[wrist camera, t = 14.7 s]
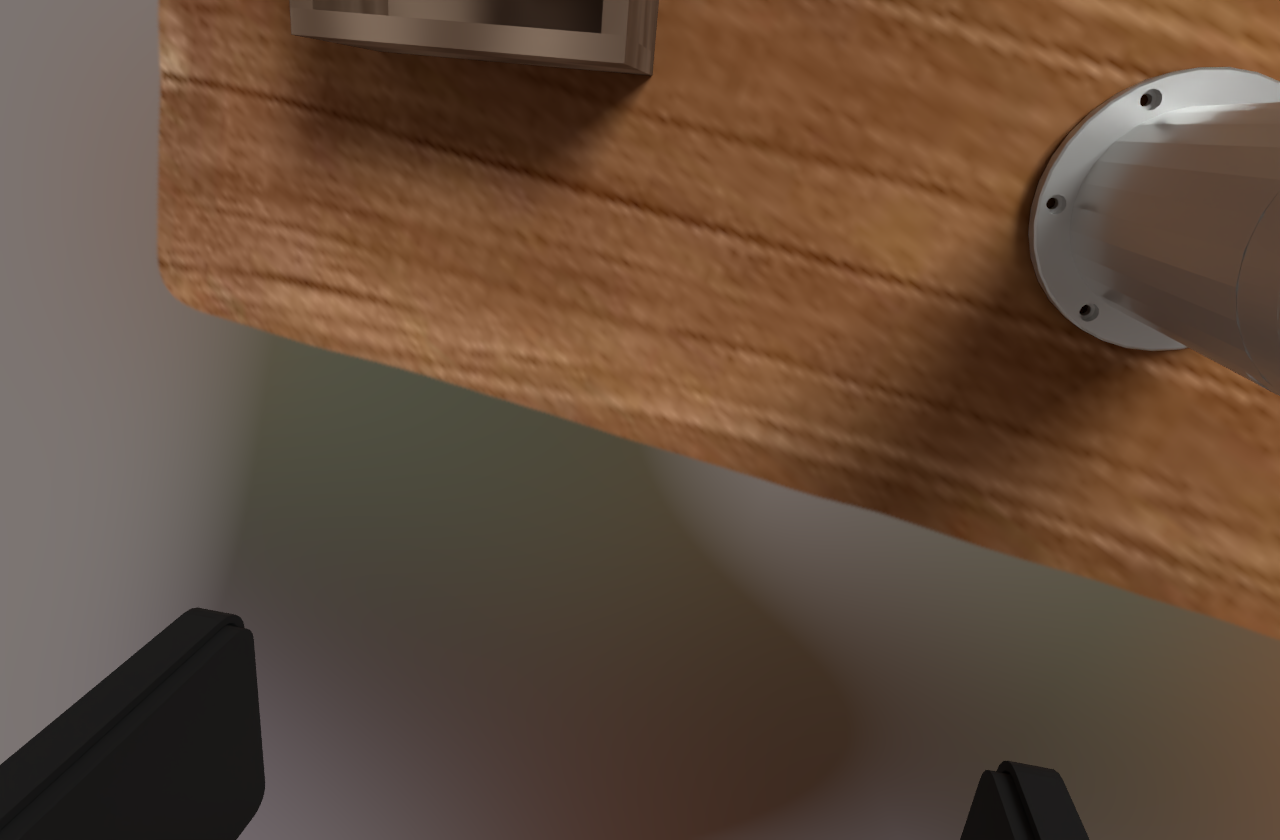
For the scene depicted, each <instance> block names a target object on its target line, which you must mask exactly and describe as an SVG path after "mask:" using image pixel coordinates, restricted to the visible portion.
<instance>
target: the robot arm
mask: <svg viewBox="0 0 1280 840" xmlns="http://www.w3.org/2000/svg"><path fill="white" fill-rule="evenodd" d="M1143 94H1145V95H1147V97H1148V102H1147V103H1146V105H1144V106H1141V105H1140V98H1141V97H1142V95H1143ZM1050 198H1054V199H1055V205H1054V206H1053V207H1052V208H1049V209H1048V208H1047V206H1046V203H1047V201H1048V200H1049V199H1050ZM1028 236H1029V246H1030V257H1031V261H1032V264H1033V267H1034V270H1035V273H1036V276H1037V279H1038V282H1039V283H1040V285H1041V287H1042V289H1043V290H1044V292H1045V294H1046V295H1047V297H1048V299H1049V300H1050V302H1051V303H1052V304H1053V305H1054V306H1055V307H1056V308H1057V309H1058V310H1059V311H1060V312H1061V313H1062V315H1063V316H1064V317H1065V318H1067V319H1068V320H1069V321H1071V322H1072V323H1073V324H1075V325H1076V326H1078V327H1079V328H1080V329H1082V330H1084V331H1086V332H1087V333H1089V334H1091V335H1093V336H1095V337H1097V338H1098V339H1100V340H1102V341H1106V342H1109V343H1112V344H1115V345H1118V346H1122V347H1125V348H1131V349H1139V350H1148V351H1162V350H1180V349H1184V348H1190V349H1192V350H1194V351H1196V352H1198V353H1200V354H1202V355H1203V356H1205V357H1207V358H1209V359H1211V360H1213V361H1215V362H1217V363H1219V364H1220V365H1222V366H1224V367H1226V368H1228V369H1230V370H1232V371H1234V372H1235V373H1237V374H1239V375H1241V376H1243V377H1245V378H1247V379H1249V380H1251V381H1252V382H1254V383H1256V384H1258V385H1260V386H1262V387H1264V388H1266V389H1267V390H1269V391H1271V392H1273V393H1275V394H1277V395H1279V396H1280V82H1279V81H1277V80H1275V79H1272V78H1270V77H1268V76H1265V75H1263V74H1260V73H1258V72H1253V71H1247V70H1242V69H1237V68H1231V67H1205V68H1193V69H1186V70H1179V71H1174V72H1170V73H1167V74H1163V75H1160V76H1156V77H1153V78H1150V79H1146V80H1144V81H1142V82H1139V83H1137V84H1135V85H1133V86H1131V87H1129V88H1127V89H1125V90H1123V91H1121V92H1119V93H1117V94H1115V95H1114V96H1112V97H1111V98H1110V99H1108V100H1107V101H1105V102H1104V103H1102V104H1101V105H1100V106H1098V107H1097V108H1095V109H1094V110H1092V111H1091V112H1090V113H1089V114H1088V115H1087V116H1086V117H1085V118H1084V119H1083V120H1082V121H1081V122H1080V123H1079V124H1078V125H1077V126H1076V127H1075V128H1074V129H1073V130H1072V131H1070V132H1069V134H1068V135H1067V136H1066V138H1065V139H1064V140H1063V142H1062V143H1061V145H1060V146H1059V147H1058V149H1057V150H1056V151H1055V153H1054V154H1053V155H1052V157H1051V159H1050V161H1049V163H1048V165H1047V167H1046V169H1045V171H1044V172H1043V174H1042V176H1041V178H1040V180H1039V183H1038V186H1037V189H1036V193H1035V196H1034V199H1033V203H1032V206H1031V212H1030V221H1029V231H1028ZM1084 305H1087V306H1088V309H1087V311H1086V312H1084V313H1081V314H1080V313H1079V311H1080V309H1081V308H1082V307H1083V306H1084ZM264 790H265V776H264V764H263V751H262V738H261V726H260V713H259V702H258V688H257V677H256V663H255V651H254V639H253V634H252V632H251V631H250V630H248V629H245V628H244V624H243V621H242V619H241V618H240V617H239V616H237V615H234V614H229V613H223V612H218V611H213V610H207V609H202V608H192V609H190V610H189V611H187V612H185V613H184V614H183V615H181V616H180V617H179V618H178V619H176V620H175V621H174V622H173V623H172V624H170V625H169V626H168V627H167V628H165V629H164V630H163V631H162V632H161V633H159V634H158V635H157V636H156V637H154V638H153V639H152V640H151V641H150V642H148V643H147V644H146V645H145V646H144V647H142V648H141V649H140V650H139V651H138V652H136V653H135V654H134V655H133V656H131V657H130V658H129V659H128V660H127V661H125V662H124V663H123V664H122V665H121V666H119V667H118V668H117V669H116V670H115V671H113V672H112V673H111V674H110V675H109V676H107V677H106V678H105V679H104V680H102V681H101V682H100V683H99V684H98V685H96V686H95V687H94V688H93V689H92V690H90V691H89V692H88V693H87V694H86V695H84V696H83V697H82V698H81V699H79V700H78V701H77V702H76V703H75V704H73V705H72V706H71V707H70V708H69V709H68V710H66V711H65V712H64V713H63V714H61V715H60V716H59V717H58V718H56V719H55V720H54V721H53V722H52V723H50V724H49V725H48V726H47V727H46V728H44V729H43V730H42V731H41V732H40V733H38V734H37V735H36V736H35V737H34V738H32V739H31V740H30V741H29V742H28V743H26V744H25V745H24V746H23V747H21V748H20V749H19V750H18V751H17V752H15V753H14V754H13V755H12V756H11V757H9V758H8V759H7V760H6V761H4V762H3V763H2V764H1V765H0V840H236V839H237V838H238V837H239V835H240V834H241V833H242V831H243V830H244V828H245V827H246V826H247V825H248V823H249V822H250V821H251V819H252V818H253V817H254V815H255V814H256V812H257V810H258V808H259V806H260V804H261V802H262V799H263V795H264ZM960 840H1089V837H1088V835H1087V833H1086V831H1085V829H1084V826H1083V824H1082V822H1081V820H1080V817H1079V815H1078V813H1077V811H1076V809H1075V806H1074V804H1073V802H1072V799H1071V797H1070V795H1069V793H1068V791H1067V788H1066V786H1065V784H1064V781H1063V780H1062V778H1061V776H1060V774H1059V773H1058V772H1056V771H1055V770H1054V769H1048V768H1043V767H1038V766H1032V765H1027V764H1022V763H1016V762H1011V761H1003V762H1002V763H1001V764H1000V765H999V767H998V769H997V771H996V772H995V771H990V770H985V772H983V774H982V776H981V778H980V781H979V784H978V787H977V790H976V793H975V796H974V800H973V802H972V805H971V808H970V812H969V815H968V818H967V821H966V824H965V827H964V830H963V833H962V836H961V839H960Z"/></svg>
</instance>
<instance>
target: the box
mask: <svg viewBox="0 0 1280 840" xmlns="http://www.w3.org/2000/svg"><path fill="white" fill-rule="evenodd" d="M658 4H659V0H290V17H291V34H292V35H297V36H302V37H308V38H313V39H318V40H323V41H328V42H333V43H339V44H344V45H349V46H354V47H359V48H364V49H370V50H375V51H381V52H392V53H403V54H415V55H426V56H437V57H448V58H460V59H471V60H482V61H493V62H505V63H516V64H527V65H538V66H550V67H561V68H572V69H583V70H595V71H606V72H617V73H628V74H640V75H651V76H652V73H653V61H654V50H655V38H656V27H657V15H658Z"/></svg>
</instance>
